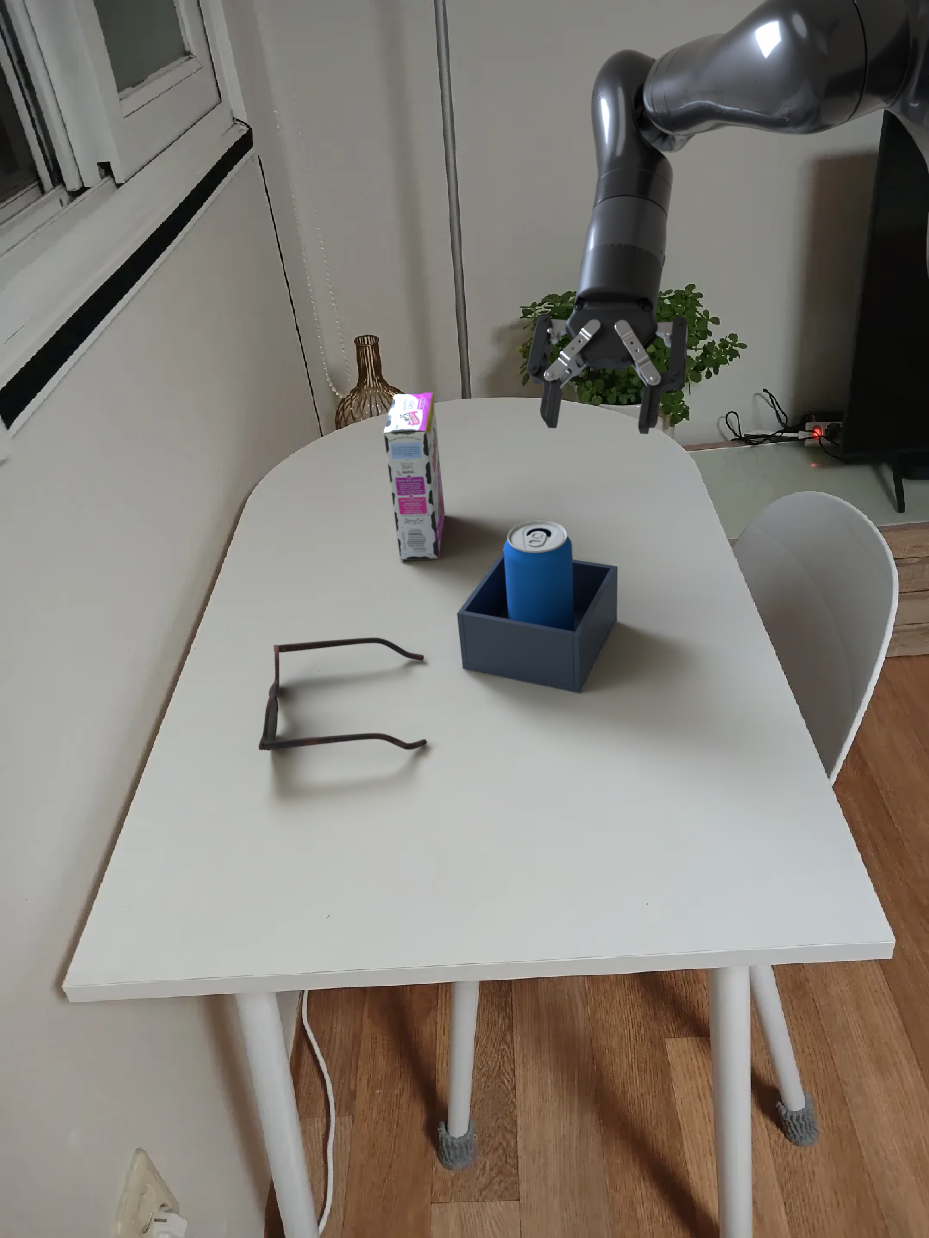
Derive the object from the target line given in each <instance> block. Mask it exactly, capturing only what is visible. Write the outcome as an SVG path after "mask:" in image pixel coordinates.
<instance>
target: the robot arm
mask: <svg viewBox="0 0 929 1238" xmlns="http://www.w3.org/2000/svg"><path fill="white" fill-rule="evenodd" d="M882 109H883V110H886V111H888V112H890V113H891V114H893V115H894V116H895V117H896V119H898V121H900V122H901V124H902V126H904V128H905V129H906V130H907V133H908V134H909V135H910V136H911V137H912V139H913V141H914V142H915V144H916V146H917V148H918V149H919V151H920V153H921V154H922V157H923V159H924V161H925V164H926V167H927V171H928V173H929V0H764V1H763V2H762V3H760V4H759V5H757V7H756V8H754V9H753V10H752V11H750V12H749V13H748V14H747V15H746V16H745V17H743V19H741V20H740V21H739V22H737V24H735V26H733V27H732V28H731V29H729V30H728V31H727V32H725V33H721V32H720V33H713V34H709V35H705V36H702V37H698V38H696V39H693V40H691V41H688V42H685V43H683V44H681V45H679V46H676V47H674V48H672V49H670V50H668V51H666V52H665V53H664V54H662V55H660V57H659V58H658V59H657V58H655V57H652V56H650V55H649V54H646V53H643V52H641V51H638V50H636V49H629V48H627V49H621V50H618V51H616V52H615V53H613V54H612V55H611V56H609V57H608V58H607V59H606V60H605V62H604V63H603V64H602V65H601V67H600V69H599V70H598V72H597V75H596V77H595V79H594V83H593V86H592V92H591V99H590V114H591V118H590V119H591V128H592V134H593V141H594V148H595V158H596V160H595V161H596V168H597V180H596V186H595V192H594V199H593V205H592V210H591V216H590V220H589V222H588V226H587V229H586V232H585V238H584V243H583V250H582V256H581V262H580V269H579V274H578V280H577V284H576V285H577V287H576V291H575V292H576V293H575V298H574V303H573V304H574V305H573V310H572V313H571V314H570V316H569V317H568V319H555V318H551V317H550V314H548V313H546V312H545V313H541V314H539V316H538V317H537V320H536V325H535V329H534V333H533V337H532V342H531V346H530V351H529V355H528V359H527V363H526V371H527V373H528V375H529V377H530V379H531V381H532V382H533V383H534V384H536V385H542V386H543V388H542V394H541V401H540V407H539V413H540V417H541V418H542V421H543V422H545V425H546V426H547V428H548V429H557V428H558V421H559V417H560V409H561V405H562V398H563V391H562V388H564V386H565V385H566V384H567V383H568V382H569V381H570V380H571V379H572V378H573V377H577V376H578V375H579V374H580V373H581V372H582V371H583V370H584V369H585V368H586V367H587V366H588V367H590V369H591V370H592V369H593V370H601V369H607V368H609V369H612V370H615V371H625V370H626V369H625V368H628V367H630V366H632V368H633V369H634V370H635V372H636V374H637V375H638V377H639V378H640V380H642V382H643V383H644V385H645V386H643V389H642V395H641V403H640V408H639V414H638V415H639V416H638V422H637V429H638V431H639V434H641V435H649V433H650V429H655V428H656V426H657V424H658V420H659V413H660V406H661V400H662V396H663V394H665V393H667V392H669V391H672V390H673V391H681V390H682V389H683V388H684V387H685V382H686V370H687V368H686V367H687V357H688V344H689V328H688V323H687V319H686V318H685V317H684V316H681V315H680V316H675V318H674V319H673V320H672V321H657V319H656V314H657V307H658V301H659V300H658V299H659V296H660V295H659V294H660V286H661V281H662V275H663V268H664V266H665V262H666V248H667V223H668V216H669V210H670V204H671V203H670V202H671V196H672V189H673V182H674V170H673V167H672V164H671V161H670V160H669V159H668V158H667V156H666V155H665V154H664V153H666V154H667V153H668V154H671V153H677V152H679V151H681V150H682V149H684V148H685V146H686V145H687V144H688V143H689V142H690V141H691V139H692V138H693V137H695V136H696V135H699V134H704V133H708V132H713V131H717V130H721V129H725V128H728V127H735V128H738V127H739V128H749V129H753V130H754V129H755V130H759V131H764V132H769V133H773V134H774V133H775V134H781V135H789V136H806V135H814V134H819V133H822V132H825V131H829V130H831V129H834V128H837V127H840V126H842V125H844V124H846V123H848V122H851V121H853V120H857V119H859V118H861V117H865V116H867V115H869V114H871V113H874V112H875V111H878V110H882ZM926 267H927V268H926V269H927V276H928V278H929V213H928V215H927V231H926ZM563 335H567V336H568V339H569V340H570V342H569V343H568V344H567V345H566V347H564V348H563V349H562V351H560V353H559V356H558V357H557V359H556V360H555V361H554V362H553V363H552V364H551V365H550V366H549V367H548V365H549V360H550V356H551V353H552V347H553V345H556V344H557V343H558V342H559V341H560V339H561V338H562V336H563ZM658 337H660V338H662V340H663V342H664V345H665V347H667V348H668V349H669V348H670V351H669V365H668V370H667V371H663V372H659V371H658V369H657V368H656V367H655V365H654V363H653V361H652V360H651V358H650V356H649V354H648V352H647V350H648V349H649V348H650V347H651V346H652V345H653V343H655V341H656V340H657V339H658Z"/></svg>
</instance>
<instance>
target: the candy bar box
mask: <svg viewBox="0 0 929 1238" xmlns="http://www.w3.org/2000/svg"><path fill="white" fill-rule="evenodd" d="M434 395H435V394H434V392H414V393H413V392H411V393H399V394H398V393H397V394H394V395H393V397H392V401H391V405H390V408H389V411H388V412H389V413H388V415H387V418H386V422H385V425H384V430H383V437H384V445H385V454H386V461H387V468H388V475H389V476H388V477H389V483H390V492H391V500H392V506H393V507H392V508H393V514H394V515H393V516H394V521H395V531H396V538H397V545H398V553H399V560H400V561H423V560H428V561H429V560H438V559H439V558H440V554H441V544H442V536H443V529H444V522H445V521H444V519H445V513H446V512H445V502H444V493H443V483H442V473H441V462H440V461H441V460H440V452H439V442H438V441H439V440H438V427H437V417H436V409H435V407H436V406H435V397H434Z"/></svg>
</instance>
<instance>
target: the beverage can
mask: <svg viewBox="0 0 929 1238" xmlns="http://www.w3.org/2000/svg"><path fill="white" fill-rule="evenodd" d="M503 550H504V561H505V575H506V590H507V604H508V618H509V619H510V620H515V621H521V622H526V623H531V624H537V625H542V626H547V627H553V628H558V629H563V630H569V631H574V612H573V565H572V559H573V544H572V541H571V538H570V537H569V536H568V532H567V529H566V528H565V527H564V526H563V525H561V524H559V523H558V522H554V521H552V520H545V519H544V520H542V519H538V520H537V519H535V520H528V521H524V522H522V523H519V524H517V525H515V526H514V527H512V528H511V529H510V530H509V532H508V534H507V539H506V540H505V542H504V545H503Z"/></svg>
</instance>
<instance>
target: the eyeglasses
mask: <svg viewBox="0 0 929 1238" xmlns="http://www.w3.org/2000/svg"><path fill="white" fill-rule="evenodd" d="M363 644H379V645H383V646H384V647H388V648H389V649H391V650H393V651H394V652H396V653H397V654H399V655H401V656H402V657H405V658H407V659H411V660H415V661H423V660H424V659H425V656H424V655H423V654H421V653H414V652H411V651H407V650H405V649H403V647H400V646H399V645H397V644H395V643H394V642H392V641H390V640H387V639H385V638H380V637H358V638H357V637H356V638H344V639H343V638H342V639H331V640H319V641H308V642H306V641H305V642H296V643H285V644H273V652H274V681H273V683H272V685H270V687H269V691H268V700H267V703H266V706H265V713H264V724H263V731H262V736H261V738H260V740H259V743H258V750H259V751H269V752H270V751H275V750H283V749H293V748H300V747H309V746H319V745H328V744H335V743H344V742H353V741H365V740H366V741H368V740H380V741H385V742H388V743H390V744H392V745H395V746H396V747H399V748H401V749H403V750H407V751H411V750H417V749H419V748H422V747H425V746H427V744H428V740H427V739H425V738H423V739H419V740H417V741H414V742H405V741H403V740H401V739H399V738H397V737H395V736H392V735H389V734H386V733H381V732H366V733H365V732H364V733H351V734H340V735H326V736H325V735H323V736H314V737H303V738H291V739H281V740H280V739H279V740H276V738H277V731H278V721H279V718H278V717H279V709H280V708H279V700H278V699H279V698H280V695H281V693H280V692H281V688H280V687H281V686H280V653H290V652H291V653H292V652H300V651H308V650H316V649H326V648H335V647H343V646H353V645H363Z"/></svg>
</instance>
